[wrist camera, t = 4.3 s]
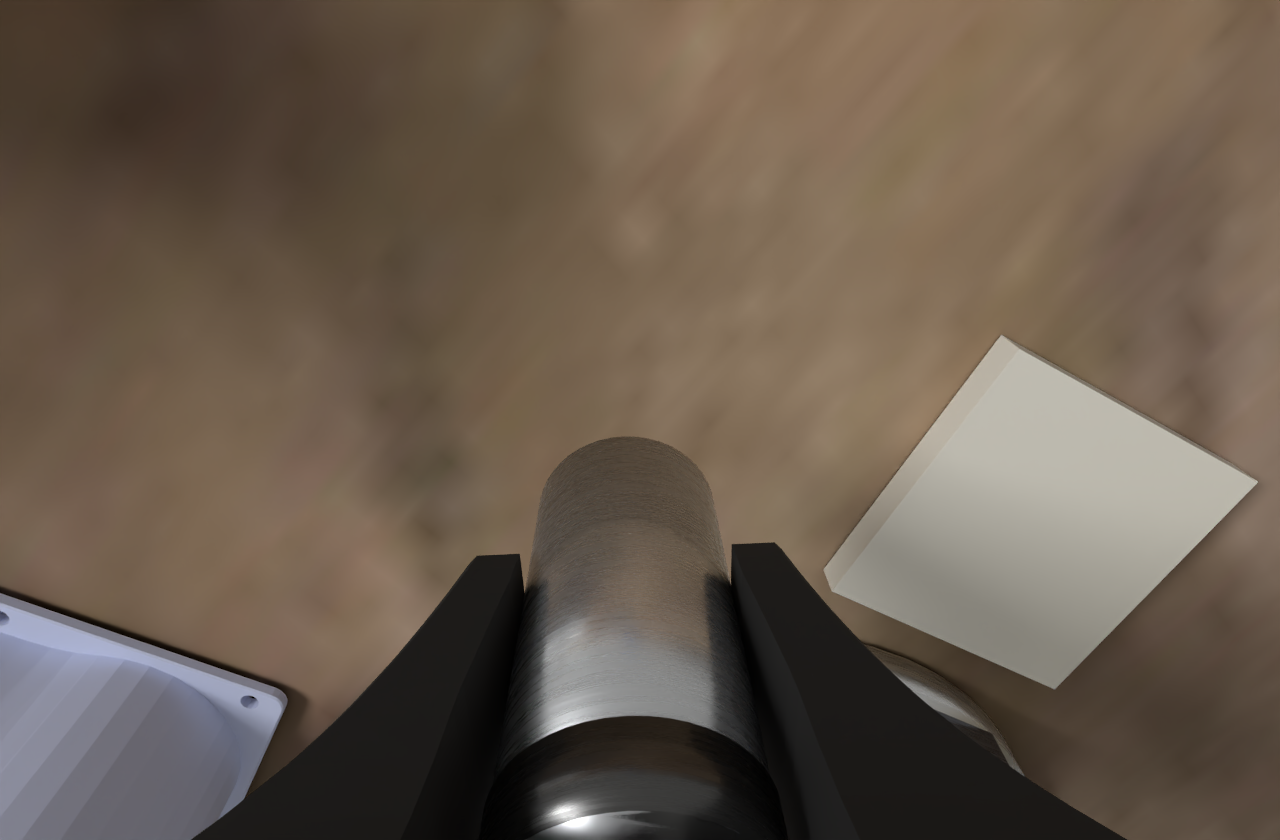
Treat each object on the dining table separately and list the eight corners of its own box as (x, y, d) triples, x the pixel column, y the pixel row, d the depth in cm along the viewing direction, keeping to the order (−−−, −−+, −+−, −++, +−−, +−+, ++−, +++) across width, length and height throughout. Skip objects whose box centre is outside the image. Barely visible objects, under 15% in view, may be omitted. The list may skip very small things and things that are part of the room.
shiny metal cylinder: (507, 547, 14) (416, 970, 8) (585, 403, 13) (554, 761, 6) (662, 611, 15) (696, 1046, 8) (750, 480, 13) (868, 871, 7)
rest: (823, 569, 23) (831, 591, 22) (1001, 334, 20) (1019, 348, 19) (1038, 665, 25) (1054, 689, 24) (1231, 463, 22) (1258, 481, 21)
